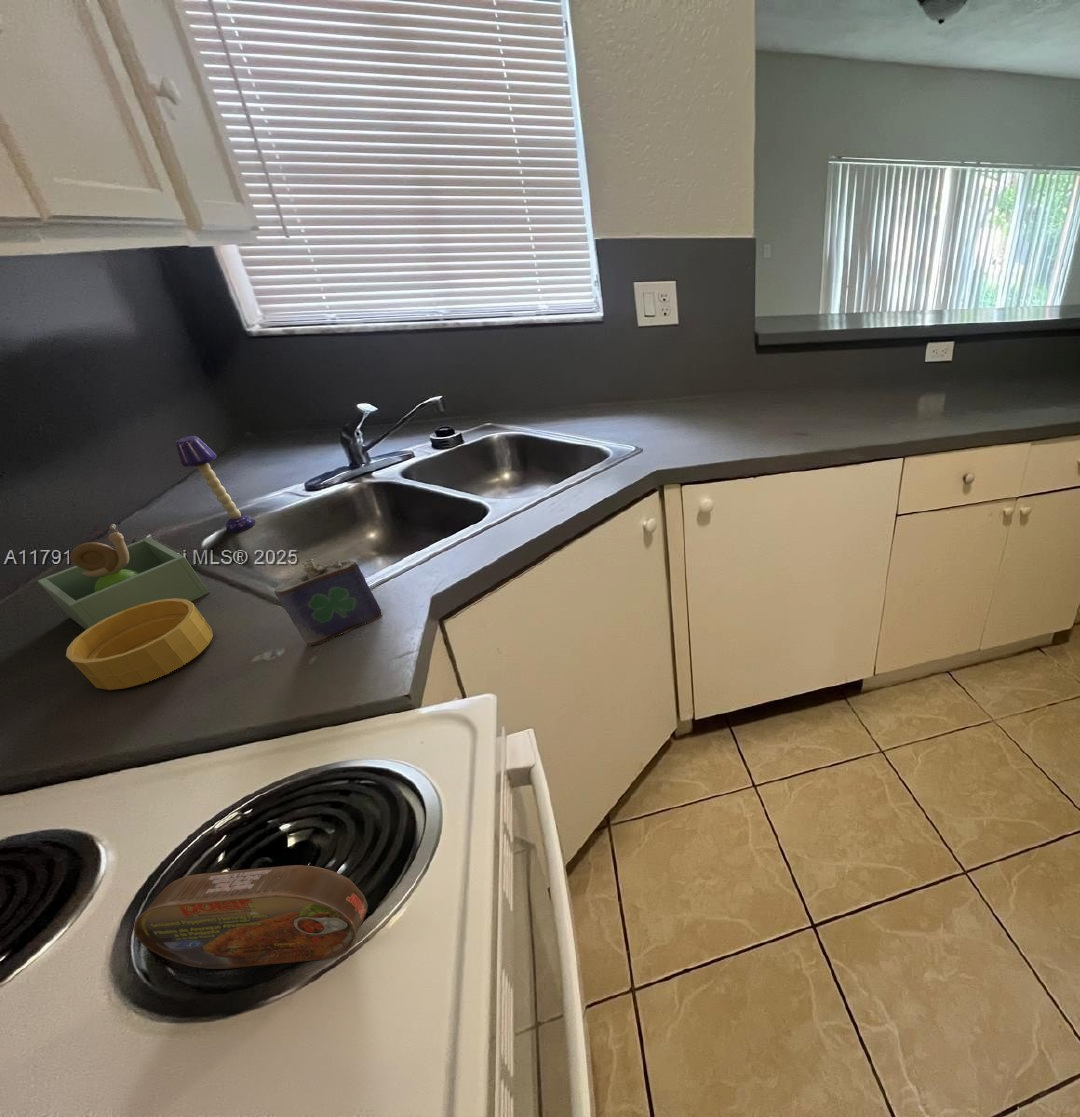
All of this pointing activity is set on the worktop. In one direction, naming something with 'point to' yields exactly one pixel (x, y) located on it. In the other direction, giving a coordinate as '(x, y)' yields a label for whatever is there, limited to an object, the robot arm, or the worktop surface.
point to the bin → (126, 584)
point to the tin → (253, 917)
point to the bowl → (140, 643)
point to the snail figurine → (104, 560)
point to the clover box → (328, 600)
